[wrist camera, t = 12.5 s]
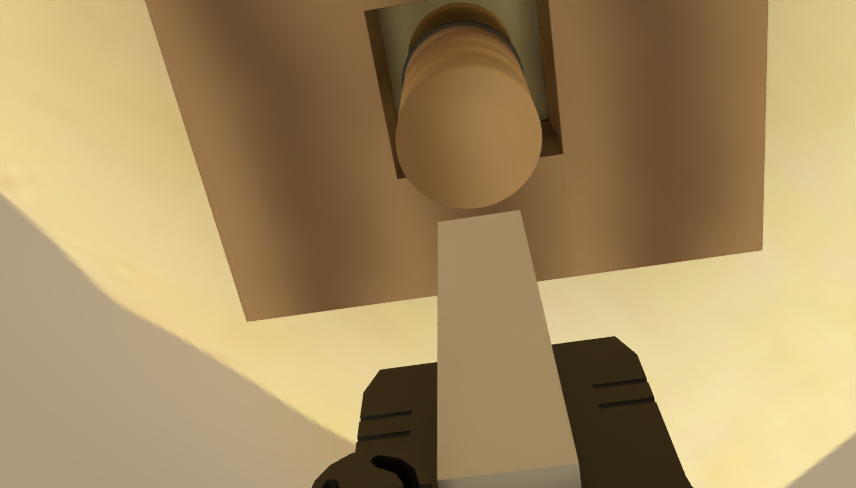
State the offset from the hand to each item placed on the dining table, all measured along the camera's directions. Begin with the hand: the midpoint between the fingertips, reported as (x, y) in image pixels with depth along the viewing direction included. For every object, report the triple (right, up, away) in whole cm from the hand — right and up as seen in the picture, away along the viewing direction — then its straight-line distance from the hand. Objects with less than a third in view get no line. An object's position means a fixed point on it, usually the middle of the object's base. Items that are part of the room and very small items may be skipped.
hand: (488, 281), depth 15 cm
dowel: (0, +8, +16) cm, 18 cm away
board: (0, +8, +16) cm, 18 cm away
